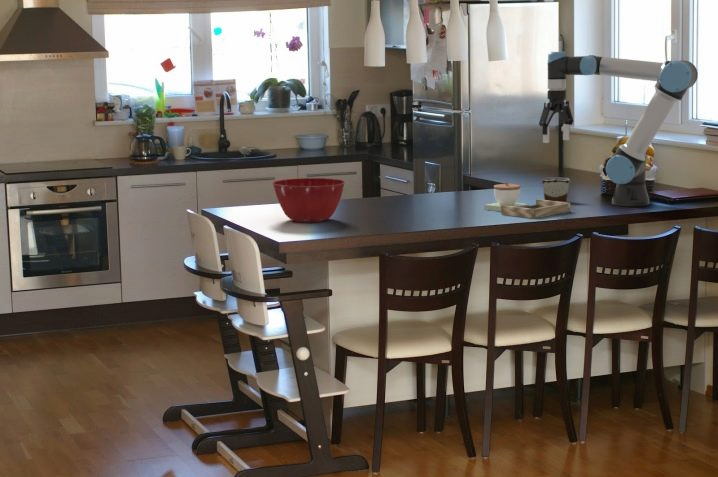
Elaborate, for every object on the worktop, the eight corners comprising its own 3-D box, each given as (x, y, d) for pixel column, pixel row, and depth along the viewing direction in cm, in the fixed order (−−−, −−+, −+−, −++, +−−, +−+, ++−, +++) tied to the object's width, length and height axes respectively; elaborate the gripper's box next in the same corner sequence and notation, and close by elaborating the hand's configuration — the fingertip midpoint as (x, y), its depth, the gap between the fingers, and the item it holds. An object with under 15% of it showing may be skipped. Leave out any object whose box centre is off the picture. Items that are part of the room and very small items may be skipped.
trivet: (529, 209, 475) (529, 204, 475) (508, 212, 466) (508, 207, 466) (504, 206, 484) (504, 201, 484) (484, 209, 476) (484, 204, 475)
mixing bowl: (306, 212, 475) (305, 175, 473) (360, 218, 458) (360, 179, 455) (258, 222, 454) (257, 182, 451) (313, 228, 436) (312, 187, 433)
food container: (569, 200, 498) (569, 177, 496) (570, 202, 492) (570, 178, 490) (540, 200, 499) (540, 177, 497) (541, 202, 493) (541, 179, 491)
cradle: (570, 211, 466) (570, 202, 466) (533, 218, 451) (533, 209, 450) (537, 207, 478) (537, 199, 478) (501, 214, 463) (501, 205, 462)
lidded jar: (499, 207, 468) (499, 183, 467) (489, 203, 479) (489, 180, 477) (524, 205, 471) (524, 182, 470) (513, 202, 481) (513, 179, 480)
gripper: (567, 88, 487) (567, 138, 491) (530, 90, 470) (530, 143, 474) (582, 88, 482) (581, 139, 485) (545, 91, 465) (544, 144, 468)
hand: (556, 141), depth 480 cm, fingers open, 13 cm apart
